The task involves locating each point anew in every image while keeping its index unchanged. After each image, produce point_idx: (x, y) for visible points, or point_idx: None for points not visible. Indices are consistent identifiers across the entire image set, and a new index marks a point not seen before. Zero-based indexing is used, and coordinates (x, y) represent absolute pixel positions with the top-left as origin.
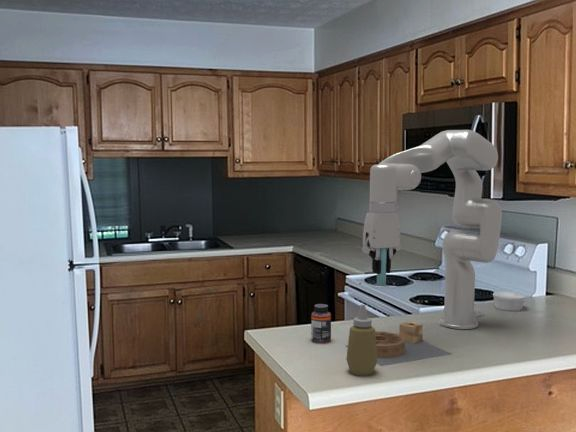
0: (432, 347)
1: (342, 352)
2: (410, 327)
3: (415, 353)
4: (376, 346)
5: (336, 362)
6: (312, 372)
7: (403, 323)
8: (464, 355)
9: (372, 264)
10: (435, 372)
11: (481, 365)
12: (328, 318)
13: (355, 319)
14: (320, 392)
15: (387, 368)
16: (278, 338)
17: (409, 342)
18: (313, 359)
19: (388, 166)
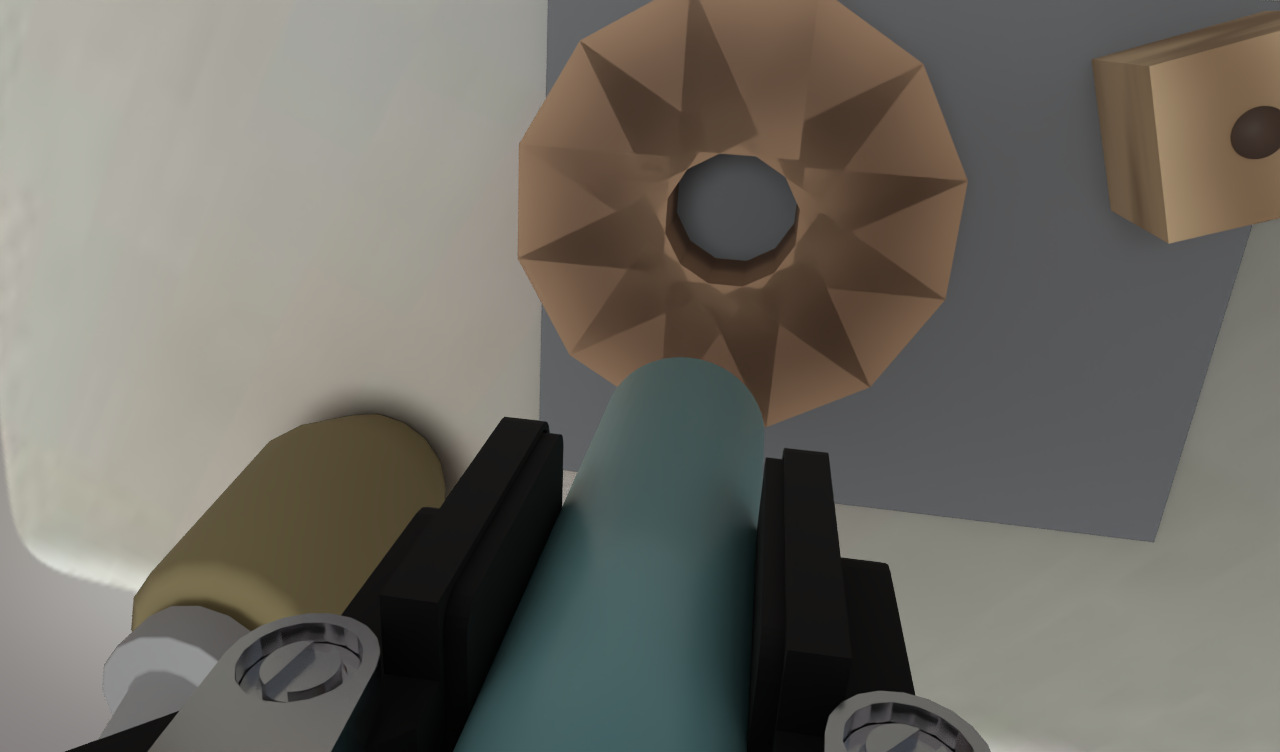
0: (1164, 364)
1: (464, 73)
2: (1161, 205)
3: (924, 402)
4: (586, 361)
5: (323, 244)
6: (114, 321)
7: (1211, 65)
8: (1225, 578)
9: (378, 577)
10: None
11: (1128, 743)
12: None
13: (109, 688)
14: (69, 567)
15: (566, 494)
16: None
17: (1106, 173)
18: (199, 108)
19: None
